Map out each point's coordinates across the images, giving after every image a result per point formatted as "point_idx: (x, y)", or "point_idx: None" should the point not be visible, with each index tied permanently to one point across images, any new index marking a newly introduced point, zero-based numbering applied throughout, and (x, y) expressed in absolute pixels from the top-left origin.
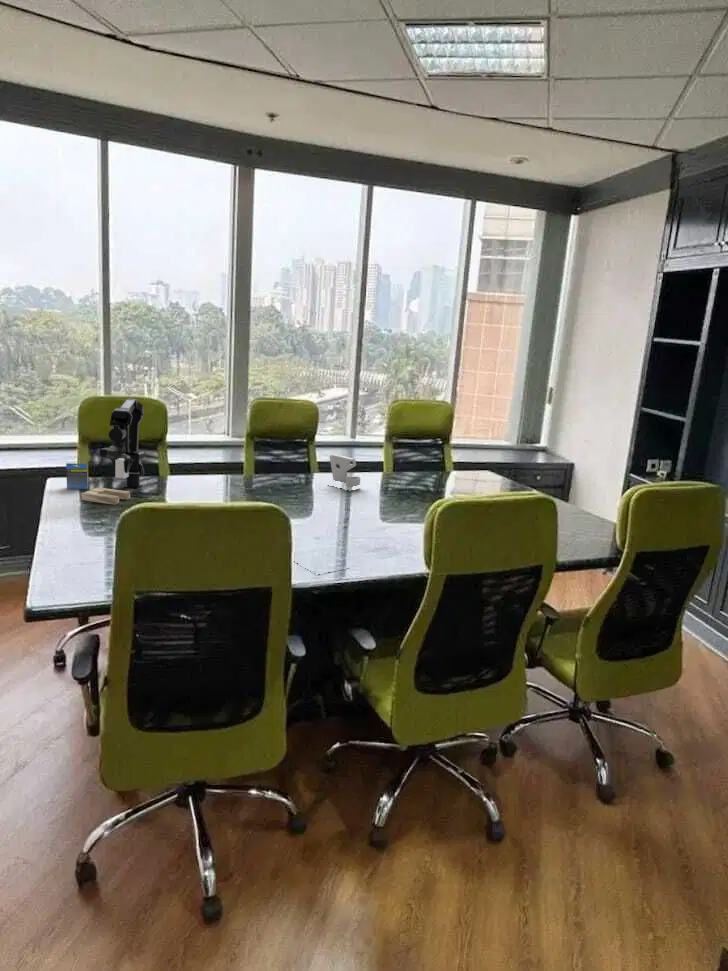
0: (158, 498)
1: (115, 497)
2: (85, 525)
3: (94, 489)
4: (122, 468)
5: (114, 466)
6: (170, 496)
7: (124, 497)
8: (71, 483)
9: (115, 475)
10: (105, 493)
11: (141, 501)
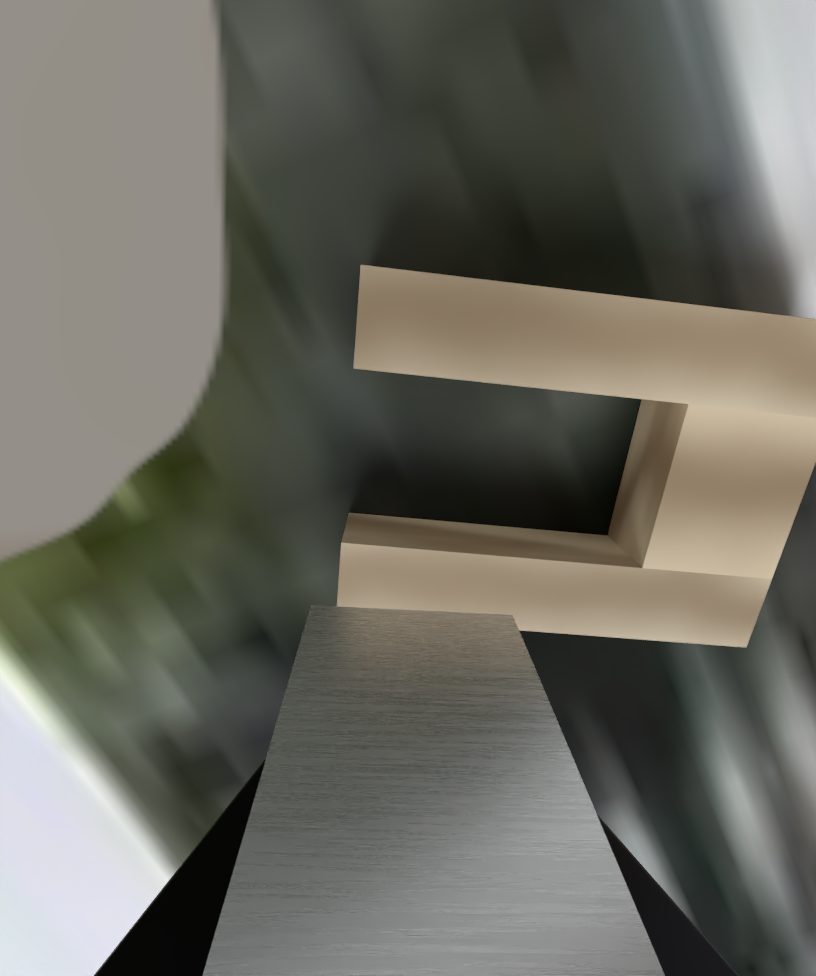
0: (93, 662)
1: (370, 298)
2: None
3: (758, 555)
4: (305, 833)
5: (683, 923)
6: (38, 754)
7: (373, 523)
8: None
9: (523, 642)
10: (607, 549)
11: (178, 509)
